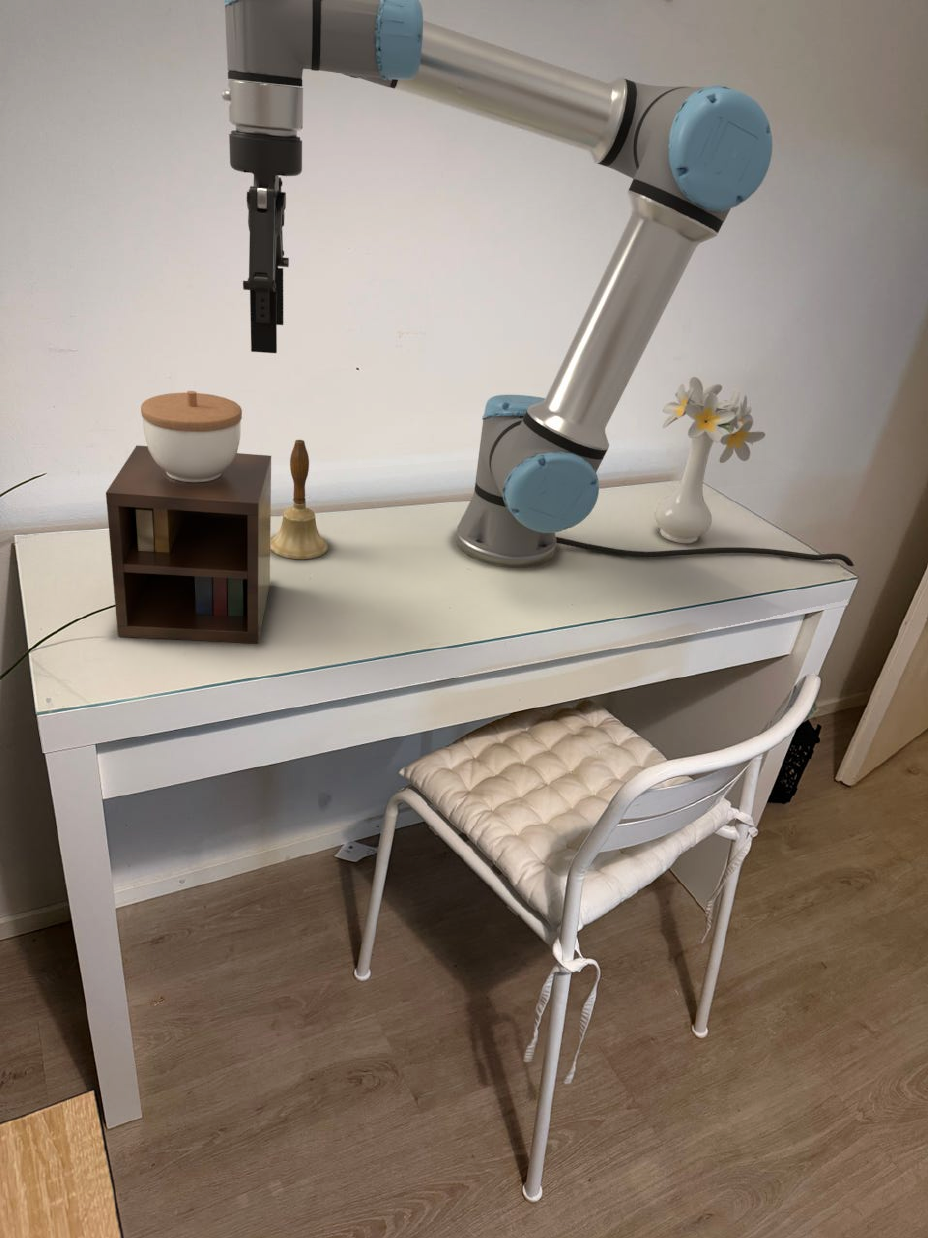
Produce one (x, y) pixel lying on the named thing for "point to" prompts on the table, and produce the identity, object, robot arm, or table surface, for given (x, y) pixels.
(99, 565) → the table surface
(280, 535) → the hand bell
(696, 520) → the flower vase
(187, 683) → the table surface
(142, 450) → the bookshelf
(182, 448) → the trinket box
